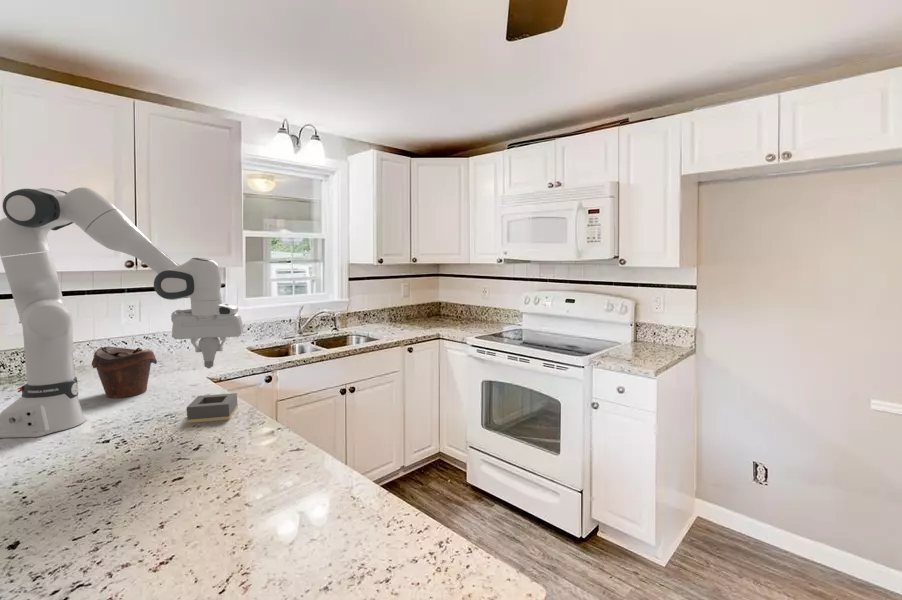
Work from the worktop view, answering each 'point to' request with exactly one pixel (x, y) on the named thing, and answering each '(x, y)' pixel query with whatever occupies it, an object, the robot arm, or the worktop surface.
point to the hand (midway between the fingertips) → (209, 351)
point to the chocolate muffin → (123, 370)
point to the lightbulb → (209, 350)
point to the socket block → (212, 408)
